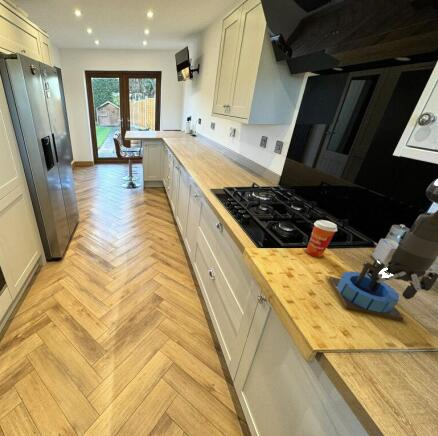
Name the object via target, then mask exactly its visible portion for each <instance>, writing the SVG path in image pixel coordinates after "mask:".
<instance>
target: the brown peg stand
mask: <svg viewBox="0 0 438 436" xmlns="http://www.w3.org/2000/svg"><path fill="white" fill-rule="evenodd" d="M372 265H373V263H371V262H369V261H365V262H363V263H362V266H363V267H362V269H361V270H360V272H359V273H360V275H359V276H358V278H357V280H356V282H355V284H354V286H356V287H357V288H359V289H360V290H362V291H364V292H366V293H369V294H371V295H375V296H378V295H376V294H375V293H373V292H372V291H370V290H368V289H365V288H363V287H360V286H359V285H360V283H361V282H362V280H363V278H364V276H365V275H366V274H367V272H368V270H369V269H370V268H372ZM328 280H329V282H330V284H331V286H332V288H333V289H334V292H336V294H337V296H338V298H339V300H340V301H341V303H342V305H343V306H344V308H345V309H347V310H351V311H356V312H360V313H364V314H369V315H373V316H377V317H382V318H386V319H391V320H396V321H400V322H403V320H404V319H405V318H404V317H403V315H402V314H401V312H399V310H398V308H396V306H394V308H393V309H392V311H389V312H376V311H372V310H368V309H367V308H366V309H365V308H363V307H361V306H359V305H356V304H354V303H353V302H354V301H352V302H351V301H350V300H348V299H347V298H346V297H344V296H343V295H342V293H340V291H339V290H338V288H337V284H338V282H339V280H340V278H339V277H334V276H329V278H328Z"/></svg>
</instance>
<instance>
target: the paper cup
mask: <svg viewBox="0 0 438 436" xmlns="http://www.w3.org/2000/svg"><path fill="white" fill-rule="evenodd" d="M313 225H314V226H313V228H312V232H311V235H310V238H309V241H308V244H307V246H306V247H307V248H306V253H307V254H308V255H310V256H311V257H314V258H321V257H323V255H324V253H325V252H326V250H327V248H328V246H329V244H330V242H331V241H332V239H333V237H334V235H335V233H336V232H338V225H337V224H336V223H334V222H332V221H329V220H324V219H319V220H316V221H315V222H313Z"/></svg>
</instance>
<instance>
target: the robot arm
mask: <svg viewBox="0 0 438 436" xmlns="http://www.w3.org/2000/svg"><path fill="white" fill-rule="evenodd" d="M425 197H426V198H427V199H428V200H429V201H430V202H433V203H435V204H437V205H438V177H437V178H436V179H434V180H433V181H431V183H430V184H429V185H428V187H427V188H426V190H425ZM398 244H399V245H398V247H397V249H396V250H395V252H394V253H393V255H392V259H391V261H390V262H388V263H385V262H381V261H380V260H379V259H377V260H375V259H374V262H373V263H372V268H370V269H368V271H367V273H366V274H367V275H368V276H369V277H370V279H372V280H371V282H370V284H369V288H370V290H371V291H372V292H376V291H377V289H378V288H379V286H380V284H381V282H386V281H392V280H398V281H403V282H408V283H409V285H407V286H406V288H405V289H404V291H402V294H401V295H402V297H403V298H404V299H405V300H411V299H413V298H414V297H415V295H416V294H417V293H418V292H420V291H421V290H422V291H426V292H429V291H431V289H432V288H433V286H434V285H435V283H436V281H437V280H438V273H437V272H436V271H435V270H433V269H432V268H431V267H432V266H433V264H434V263H435V261H436V260H437V258H438V209H437V210H436V211H434V212H429V211H427V212H422V213H420V214H419V215H418V216H417V217H416V218H415V220H414V222H413V223H412V225H411V227H410V228H409V230H408V232H407V233H406V234H405V235H404V236H403V237H402V239H401V240H400V242H399V243H398ZM388 274H389V275H388ZM420 277H422V278H421V279H420V280H419V278H420Z"/></svg>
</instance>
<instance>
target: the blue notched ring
mask: <svg viewBox="0 0 438 436" xmlns="http://www.w3.org/2000/svg"><path fill="white" fill-rule="evenodd" d="M360 273H361V272H358V271H344V272H343V273H342V275H341V277H340V278H339V279H340V280H339V282H338V284H337V288H338V290H339V291H340V293H342V295H343V296H344V297H346V298H347V299H348V300H350V301H351V302H352V301H354V302H353V303H354V304H356V305H359V306H361V307H363V308H365V309H366V308H367V309H368V310H372V311H376V312H389V311H392V309H393V308H394V307H396V305H397V303H399V299H400V295H399V293H398V291H396V290H395V289H394V287H391V285H389V284H388V283H386V281H383V282H381V284H380V286H379V288H378V289H377V291H376V292H373V293H375V294H376V295H378V296H375V295H371V294H369V293H366V292H364V291H362V290H360V289H359V288H357V287H356V286H354V284H355V282H356V280H357V278H358V276H359V275H360ZM371 280H372V279H370V277H369V276H368V275H367V273H366V275H365V276H364V278H363V280H362V282H361V283H360V285H359V286H360V287H363V288H365V289H368V290H370V288H369V284H370V282H371ZM370 291H371V290H370Z"/></svg>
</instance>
